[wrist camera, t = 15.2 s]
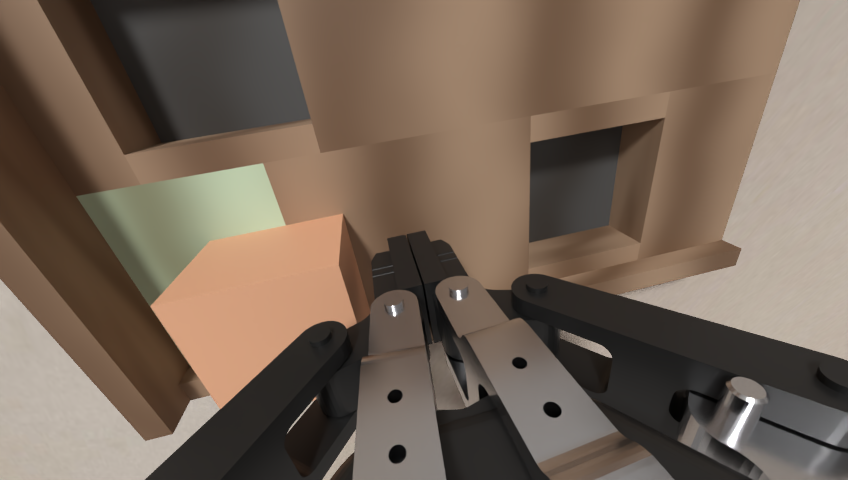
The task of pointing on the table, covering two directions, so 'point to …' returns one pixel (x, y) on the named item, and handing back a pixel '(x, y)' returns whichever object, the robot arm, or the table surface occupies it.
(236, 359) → the terracotta block
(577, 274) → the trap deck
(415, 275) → the robot arm
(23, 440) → the table surface
